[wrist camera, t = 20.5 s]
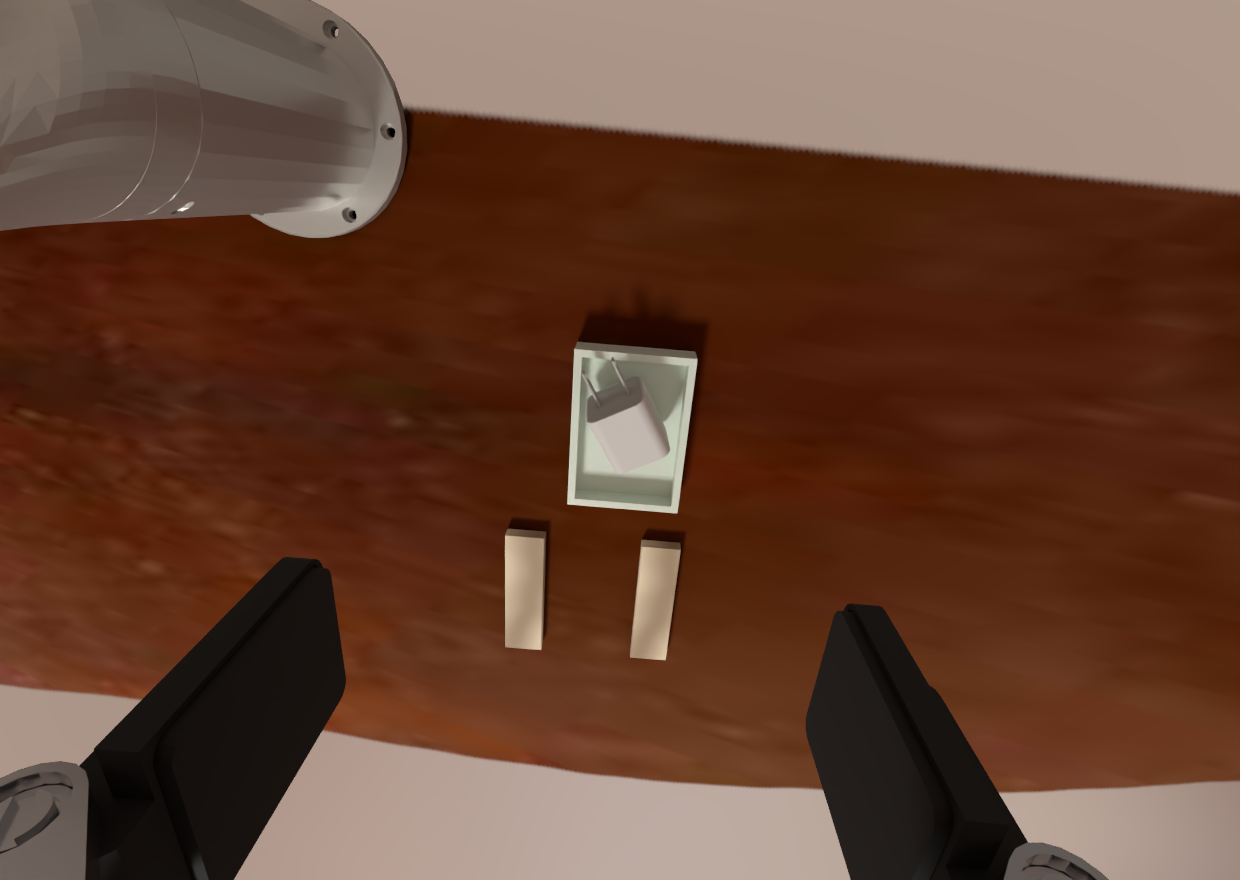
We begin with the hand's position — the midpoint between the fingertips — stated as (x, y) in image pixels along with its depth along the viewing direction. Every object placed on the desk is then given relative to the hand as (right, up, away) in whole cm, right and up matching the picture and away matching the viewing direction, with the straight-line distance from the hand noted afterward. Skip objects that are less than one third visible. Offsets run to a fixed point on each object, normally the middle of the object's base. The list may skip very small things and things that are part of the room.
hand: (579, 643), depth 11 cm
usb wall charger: (+1, +7, +29) cm, 30 cm away
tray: (+1, +5, +31) cm, 31 cm away
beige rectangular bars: (-2, -9, +37) cm, 38 cm away
